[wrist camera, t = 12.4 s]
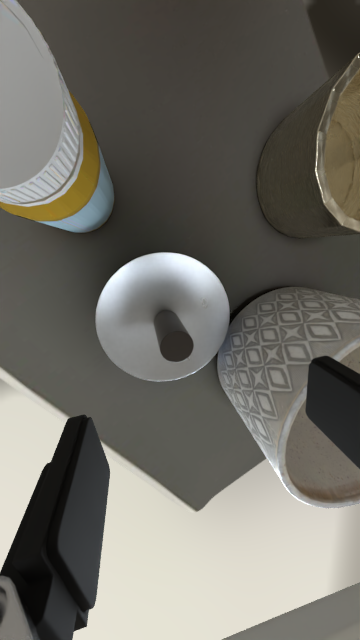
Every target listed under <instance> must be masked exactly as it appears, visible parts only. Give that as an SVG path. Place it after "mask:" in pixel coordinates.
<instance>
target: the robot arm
mask: <svg viewBox="0 0 360 640" xmlns="http://www.w3.org/2000/svg"><path fill="white" fill-rule="evenodd" d="M305 412H306V415H307V417H308V418H309V419H310V420H311V421H312V422H313V423H314V424H315V425H316V426H317V427H318V428H319V429H320V430H321V431H322V432H323V433H324V434H325V435H326V436H327V437H328V438H329V439H330V440H331V441H332V442H333V443H334V444H335V445H336V446H337V447H338V448H339V449H340V450H341V451H342V452H343V453H344V454H345V455H346V456H347V457H348V458H349V459H350V460H351V461H352V462H353V463H354V464H355V465H356V466H357V467H358V468H359V469H360V374H359V373H357V372H356V371H354V370H352V369H350V368H349V367H347V366H345V365H343V364H342V363H340V362H338V361H336V360H335V359H333V358H331V357H329V356H321V357H317V358H314V359H312V360H311V363H310V364H309V369H308V382H307V395H306V408H305ZM109 478H110V469H109V464H108V462H107V459H106V456H105V453H104V450H103V448H102V445H101V442H100V439H99V437H98V434H97V431H96V428H95V426H94V423H93V420H92V418H91V417H89V418H87V417H86V415H80V416H76V417H72V418H69V419H68V420H67V422H66V425H65V427H64V430H63V432H62V435H61V438H60V440H59V443H58V445H57V448H56V450H55V453H54V456H53V458H52V461H51V462H50V463H47V464H46V466H45V467H44V469H43V471H42V473H41V475H40V478H39V480H38V482H37V485H36V487H35V490H34V492H33V495H32V497H31V499H30V502H29V504H28V507H27V509H26V511H25V514H24V516H23V519H22V521H21V524H20V526H19V528H18V531H17V533H16V536H15V538H14V541H13V543H12V545H11V548H10V550H9V553H8V555H7V558H6V560H5V562H4V565H3V567H2V570H1V572H0V640H72V638H73V632H74V631H76V630H79V629H81V628H84V627H86V626H87V620H88V612H89V609H92V608H93V607H94V605H95V601H96V595H97V585H98V577H99V568H100V559H101V550H102V541H103V532H104V523H105V514H106V505H107V495H108V487H109ZM222 640H360V583H357V584H355V585H352V586H350V587H348V588H345V589H343V590H340V591H338V592H335V593H333V594H331V595H328V596H326V597H324V598H321V599H318V600H316V601H314V602H311V603H309V604H306V605H304V606H302V607H299V608H297V609H294V610H292V611H289V612H287V613H285V614H282V615H280V616H277V617H275V618H272V619H270V620H268V621H265V622H263V623H260V624H258V625H256V626H253V627H251V628H249V629H246V630H244V631H241V632H239V633H236V634H234V635H232V636H229V637H227V638H224V639H222Z"/></svg>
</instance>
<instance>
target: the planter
mask: <svg viewBox="0 0 360 640" xmlns="http://www.w3.org/2000/svg"><path fill="white" fill-rule="evenodd" d="M321 356H329V357H331V358H333V359H335V360H336V361H338V362H340V363H342V364H343V365H345V366H347V367H349V368H350V369H352V370H354V371H356V372H357V373H359V374H360V299H355V298H350V297H346V296H341V295H337V294H332V293H328V292H323V291H318V290H314V289H309V288H305V287H286V288H281V289H277V290H273V291H271V292H268V293H266V294H264V295H262V296H260V297H258V298H257V299H255V300H254V301H252V302H251V303H250V304H248V305H247V306H246V307H245V308H244V309H243V310H242V311H241V312H240V313H239V314H238V315H237V316H236V317H235V318H234V320H233V321H232V323H231V324H230V326H229V327H228V331H227V334H226V337H225V340H224V342H223V344H222V345H221V347H220V349H219V352H218V359H217V371H218V376H219V380H220V383H221V385H222V388H223V390H224V391H225V393H226V394H227V396H228V397H229V399H230V401H231V402H232V404H233V405H234V407H235V409H236V410H237V412H238V413H239V415H240V416H241V418H242V420H243V421H244V423H245V424H246V426H247V427H248V429H249V431H250V432H251V434H252V435H253V437H254V439H255V440H256V442H257V443H258V445H259V446H260V448H261V450H262V451H263V453H264V454H265V456H266V457H267V459H268V461H269V462H270V464H271V465H272V467H273V469H274V470H275V472H276V473H277V475H278V476H279V478H280V480H281V481H282V483H283V484H284V486H285V487H286V489H287V490H288V491H289V492H290V493H291V494H292V495H293V496H294V497H295V498H296V499H298V500H300V501H302V502H303V503H305V504H309V505H312V506H315V507H323V508H339V507H345V506H351V505H355V504H359V503H360V469H359V468H358V467H357V466H356V465H355V464H354V463H353V462H352V461H351V460H350V459H349V458H348V457H347V456H346V455H345V454H344V453H343V452H342V451H341V450H340V449H339V448H338V447H337V446H336V445H335V444H334V443H333V442H332V441H331V440H330V439H329V438H328V437H327V436H326V435H325V434H324V433H323V432H322V431H321V430H320V429H319V428H318V427H317V426H316V425H315V424H314V423H313V422H312V421H311V420H310V419H309V418H308V417H307V415H306V412H305V408H306V395H307V382H308V369H309V364H310V363H311V360H312V359H314V358H317V357H321Z"/></svg>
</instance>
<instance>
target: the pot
mask: <svg viewBox="0 0 360 640" xmlns="http://www.w3.org/2000/svg"><path fill="white" fill-rule="evenodd" d="M257 194H258V199H259V203H260V206H261V209H262V211H263V213H264V215H265V217H266V219H267V220H268V222H269V223H270V224H271V225H272V226H273V227H274V228H275V229H276V230H278V231H279V232H281V233H282V234H285V235H287V236H291V237H297V238H311V237H324V236H338V235H352V234H360V53H359V54H357V55H356V56H355V57H354V58H353V59H352V60H350V61H349V62H348V63H347V64H346V65H345V66H344V67H342V68H341V69H340V70H339V71H338V72H337V73H336V74H335V75H333V76H332V77H331V78H330V79H329V80H328V81H327V82H325V83H324V84H323V85H322V86H321V87H320V88H319V89H318V90H316V91H315V92H314V93H313V94H312V95H311V96H310V97H308V98H307V99H306V100H305V101H304V102H303V103H302V104H301V105H299V106H298V107H297V108H296V109H295V110H294V111H293V112H291V113H290V114H289V115H288V116H287V117H286V118H285V119H284V120H283V121H282V122H281V123H280V125H279V126H278V127H277V128H276V129H275V131H274V132H273V133H272V135H271V136H270V138H269V139H268V141H267V143H266V145H265V147H264V149H263V152H262V155H261V158H260V161H259V166H258V172H257Z"/></svg>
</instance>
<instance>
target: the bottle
mask: <svg viewBox="0 0 360 640" xmlns="http://www.w3.org/2000/svg"><path fill="white" fill-rule="evenodd" d="M113 205H114V190H113V185H112V181H111V179H110V176H109V173H108V170H107V167H106V164H105V162H104V159H103V156H102V153H101V150H100V147H99V144H98V142H97V139H96V136H95V134H94V131H93V129H92V126H91V124H90V122H89V120H88V118H87V116H86V114H85V112H84V110H83V109H82V107H81V106H80V105H79V103H78V102H77V100H76V99H75V98H74V96H73V95H72V94H71V93H70V91H69V90H68V89H67V87H66V84H65V82H64V79H63V77H62V75H61V72H60V70H59V68H58V65H57V63H56V61H55V58H54V56H53V55H52V52H51V50H50V48H49V46H48V44H47V43H46V42H45V40H44V38H43V36H42V34H41V32H40V30H38V29H37V28H36V26H35V24H34V22H33V20H32V19H31V18H30V17H29V16H28V14H27V13H26V12H25V10H24V9H23V8H22V7H21V6H20V4H19V3H18V2H17V1H16V0H0V207H1V208H2V209H4V210H6V211H7V212H9V213H12V214H14V215H17V216H19V217H23V218H26V219H30V220H33V221H36V222H40V223H43V224H47V225H50V226H54V227H57V228H61V229H64V230H68V231H71V232H77V233H86V232H91V231H93V230H96V229H98V228H100V227H101V226H102V225H103V224H104V223H106V221H107V220H108V218H109V217H110V215H111V213H112V210H113Z"/></svg>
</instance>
